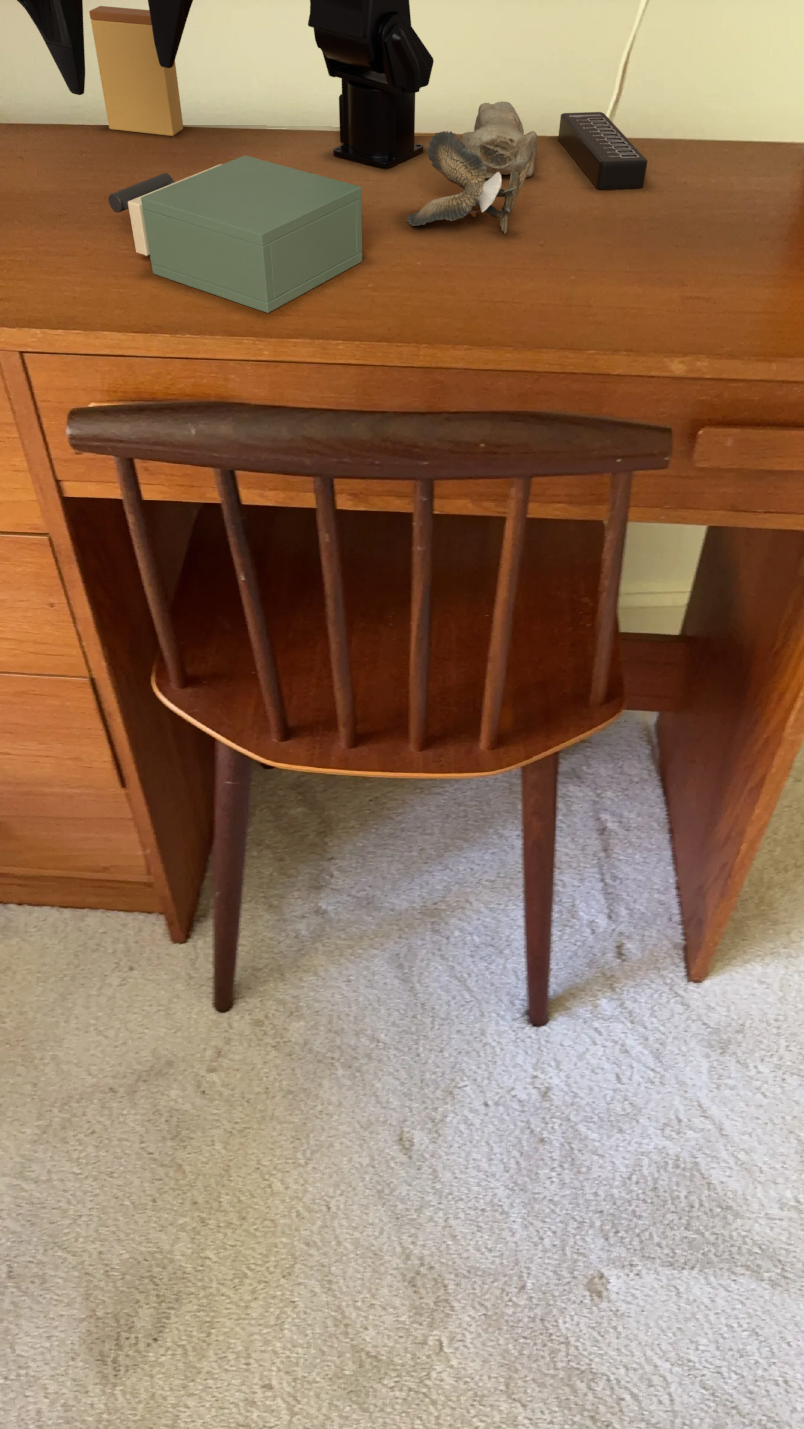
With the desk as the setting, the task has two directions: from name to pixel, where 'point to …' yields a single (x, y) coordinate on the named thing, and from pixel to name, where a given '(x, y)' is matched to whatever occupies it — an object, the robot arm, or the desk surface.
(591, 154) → the multiport hub
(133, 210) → the drawer
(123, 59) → the tan flat block
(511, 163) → the sculpture
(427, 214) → the eagle figurine
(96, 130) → the desk surface
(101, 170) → the desk surface
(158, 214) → the cabinet
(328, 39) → the robot arm
